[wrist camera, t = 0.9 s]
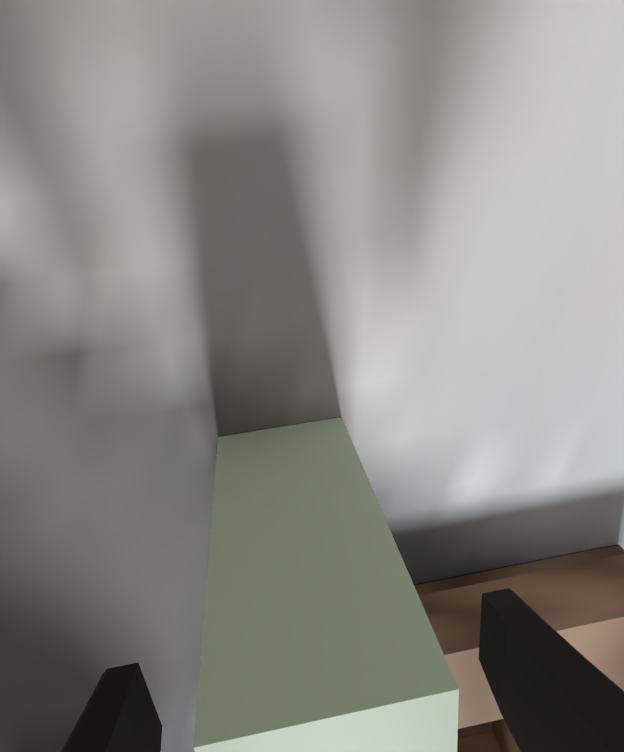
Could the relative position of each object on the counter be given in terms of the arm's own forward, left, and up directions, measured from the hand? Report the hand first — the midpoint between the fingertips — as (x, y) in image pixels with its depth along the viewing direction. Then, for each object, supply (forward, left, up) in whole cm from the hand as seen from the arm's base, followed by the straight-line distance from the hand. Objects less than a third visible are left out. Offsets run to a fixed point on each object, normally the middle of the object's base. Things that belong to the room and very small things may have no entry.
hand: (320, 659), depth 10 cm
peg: (0, 0, -7) cm, 7 cm away
